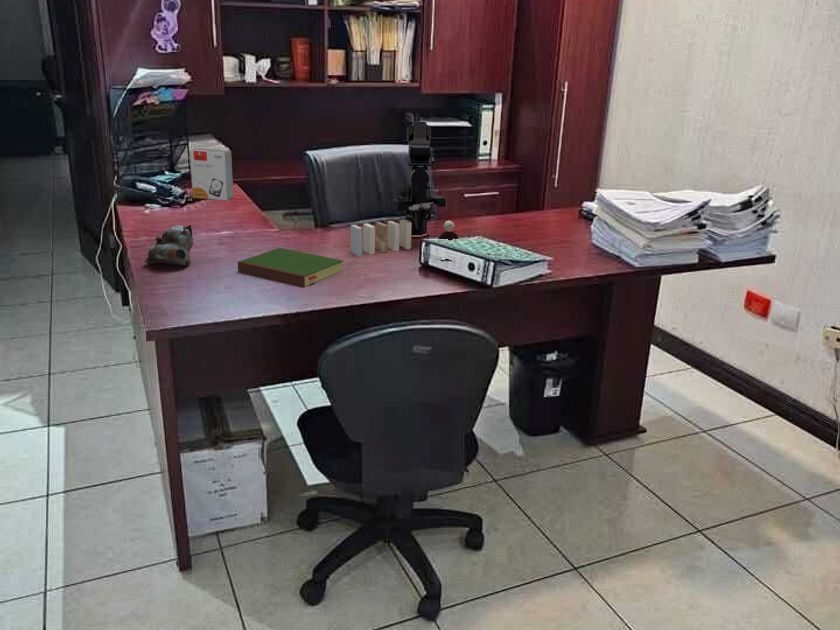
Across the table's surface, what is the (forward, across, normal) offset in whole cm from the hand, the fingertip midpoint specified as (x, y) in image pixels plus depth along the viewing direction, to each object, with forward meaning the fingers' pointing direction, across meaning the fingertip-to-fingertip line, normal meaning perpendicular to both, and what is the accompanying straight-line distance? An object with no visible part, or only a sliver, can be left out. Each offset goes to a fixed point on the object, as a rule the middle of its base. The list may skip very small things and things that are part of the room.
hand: (418, 228), depth 246 cm
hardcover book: (+7, +48, +8) cm, 50 cm away
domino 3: (+6, +14, 0) cm, 15 cm away
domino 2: (+6, +18, 0) cm, 19 cm away
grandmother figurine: (+6, -1, +18) cm, 19 cm away
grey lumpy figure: (+6, +78, -14) cm, 80 cm away
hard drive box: (+6, +39, -102) cm, 110 cm away
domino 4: (+6, +9, 0) cm, 11 cm away
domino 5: (+6, +5, 0) cm, 8 cm away
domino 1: (+6, +23, 0) cm, 24 cm away
